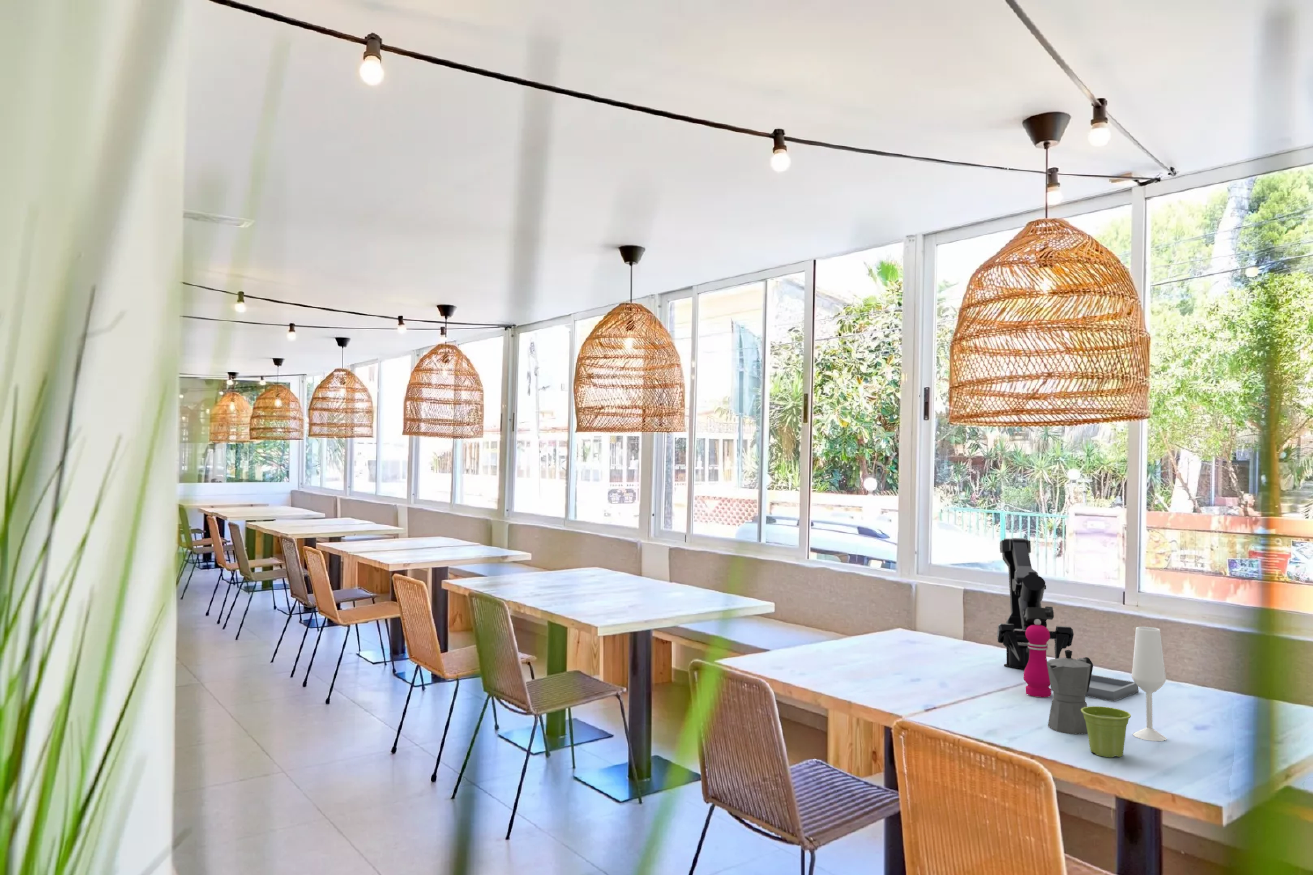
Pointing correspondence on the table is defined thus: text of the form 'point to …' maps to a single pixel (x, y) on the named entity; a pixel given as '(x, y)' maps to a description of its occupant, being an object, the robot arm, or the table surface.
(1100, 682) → the tray
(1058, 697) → the coffeepot
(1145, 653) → the champagne flute
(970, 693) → the table surface
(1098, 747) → the plant pot
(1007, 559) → the robot arm
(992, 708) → the table surface
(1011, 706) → the table surface
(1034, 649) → the pepper mill
